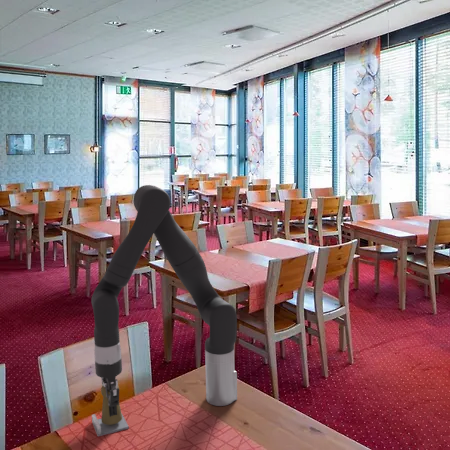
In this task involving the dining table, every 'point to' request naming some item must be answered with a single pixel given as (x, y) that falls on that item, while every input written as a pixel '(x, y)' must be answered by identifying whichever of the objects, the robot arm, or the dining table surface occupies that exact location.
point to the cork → (105, 410)
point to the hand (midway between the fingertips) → (111, 411)
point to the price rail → (96, 425)
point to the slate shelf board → (113, 426)
